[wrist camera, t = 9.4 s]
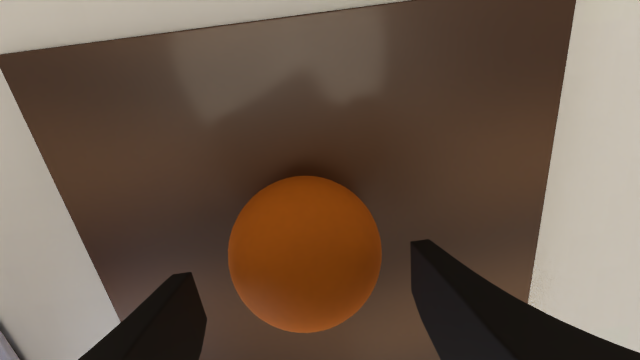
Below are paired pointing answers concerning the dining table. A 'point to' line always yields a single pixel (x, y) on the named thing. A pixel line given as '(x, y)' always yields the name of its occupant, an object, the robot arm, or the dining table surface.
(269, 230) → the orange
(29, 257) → the dining table surface
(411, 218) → the front mat
